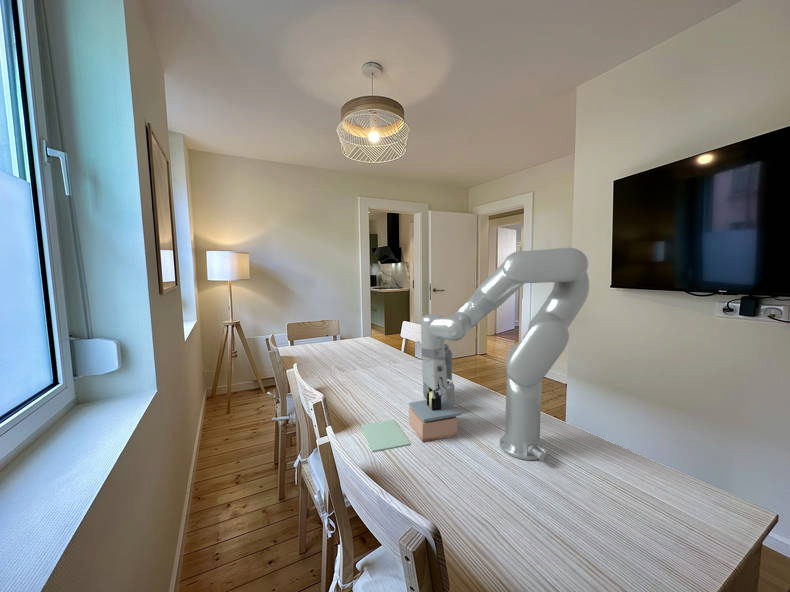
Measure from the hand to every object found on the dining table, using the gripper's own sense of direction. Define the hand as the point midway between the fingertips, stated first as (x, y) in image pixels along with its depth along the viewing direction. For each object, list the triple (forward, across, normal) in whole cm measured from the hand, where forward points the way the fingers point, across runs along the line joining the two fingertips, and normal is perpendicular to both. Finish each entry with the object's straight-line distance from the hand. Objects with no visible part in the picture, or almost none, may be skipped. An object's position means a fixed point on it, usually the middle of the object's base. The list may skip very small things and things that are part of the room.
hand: (433, 406), depth 102 cm
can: (+8, +12, -9) cm, 17 cm away
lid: (+1, 0, 0) cm, 1 cm away
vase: (+8, +22, -11) cm, 26 cm away
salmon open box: (+8, 0, +1) cm, 8 cm away
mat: (+8, +2, +17) cm, 19 cm away
